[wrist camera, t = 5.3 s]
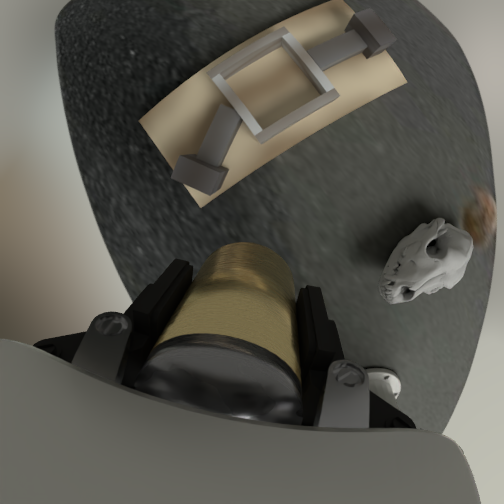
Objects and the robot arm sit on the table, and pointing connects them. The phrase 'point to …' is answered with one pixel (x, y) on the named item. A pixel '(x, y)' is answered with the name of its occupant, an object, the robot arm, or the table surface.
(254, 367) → the gold cylinder
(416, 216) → the table surface
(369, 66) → the stand
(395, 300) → the skull
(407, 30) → the table surface
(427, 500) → the robot arm
